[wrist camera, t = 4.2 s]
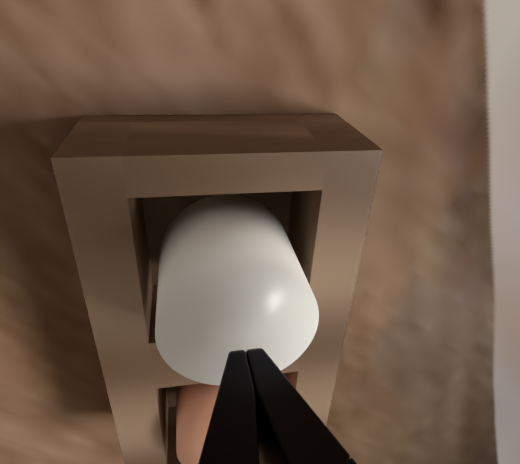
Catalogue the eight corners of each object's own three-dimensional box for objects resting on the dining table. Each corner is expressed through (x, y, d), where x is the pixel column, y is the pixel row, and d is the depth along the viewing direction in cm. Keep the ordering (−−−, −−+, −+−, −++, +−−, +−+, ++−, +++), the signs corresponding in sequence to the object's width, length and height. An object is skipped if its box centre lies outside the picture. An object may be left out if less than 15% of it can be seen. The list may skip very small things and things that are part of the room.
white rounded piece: (282, 295, 15) (310, 375, 12) (165, 305, 15) (162, 394, 11) (291, 191, 13) (328, 257, 10) (153, 197, 12) (146, 270, 9)
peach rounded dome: (264, 393, 21) (280, 466, 18) (179, 404, 20) (179, 482, 17) (268, 332, 19) (288, 403, 15) (172, 342, 18) (172, 419, 15)
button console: (298, 391, 23) (319, 459, 20) (138, 412, 22) (131, 490, 18) (336, 114, 15) (383, 150, 12) (82, 116, 13) (50, 158, 10)
